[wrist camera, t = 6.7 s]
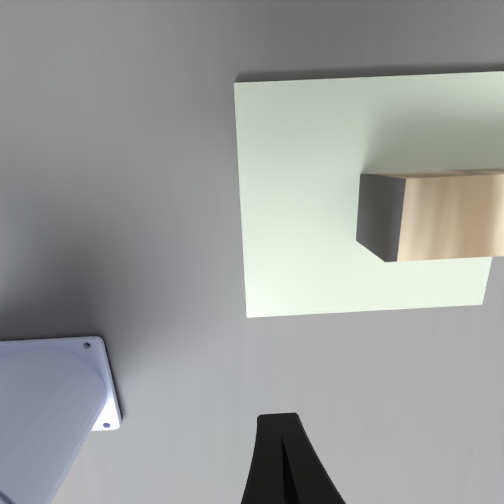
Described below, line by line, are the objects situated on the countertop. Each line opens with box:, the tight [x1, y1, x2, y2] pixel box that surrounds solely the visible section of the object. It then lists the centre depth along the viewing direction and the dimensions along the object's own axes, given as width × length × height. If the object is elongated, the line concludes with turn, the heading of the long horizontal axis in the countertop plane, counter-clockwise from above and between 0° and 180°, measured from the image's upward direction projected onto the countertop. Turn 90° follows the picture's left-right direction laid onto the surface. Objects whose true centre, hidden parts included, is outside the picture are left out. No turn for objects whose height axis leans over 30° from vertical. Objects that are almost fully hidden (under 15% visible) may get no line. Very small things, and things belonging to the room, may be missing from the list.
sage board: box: [234, 71, 504, 318], centre depth 18 cm, size 16×14×1 cm
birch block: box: [356, 167, 504, 262], centre depth 16 cm, size 4×4×10 cm
